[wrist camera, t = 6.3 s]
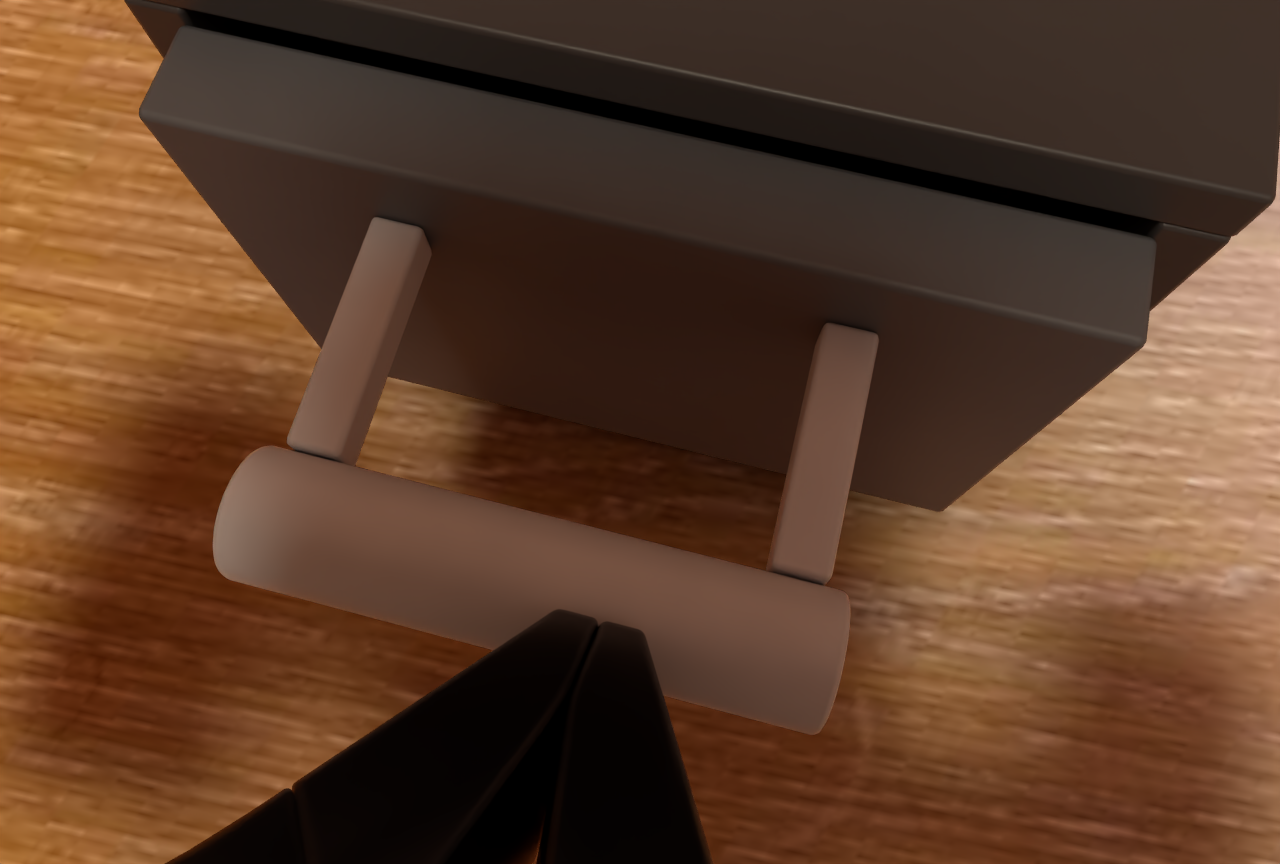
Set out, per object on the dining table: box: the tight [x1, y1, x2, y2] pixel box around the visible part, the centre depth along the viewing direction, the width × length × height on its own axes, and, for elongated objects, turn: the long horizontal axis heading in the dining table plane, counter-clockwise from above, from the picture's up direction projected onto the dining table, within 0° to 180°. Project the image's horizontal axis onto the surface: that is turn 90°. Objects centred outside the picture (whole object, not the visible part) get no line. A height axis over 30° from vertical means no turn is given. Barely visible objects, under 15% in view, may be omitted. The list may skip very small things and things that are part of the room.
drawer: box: [139, 25, 1157, 735], centre depth 14 cm, size 16×10×7 cm, turn 165°
